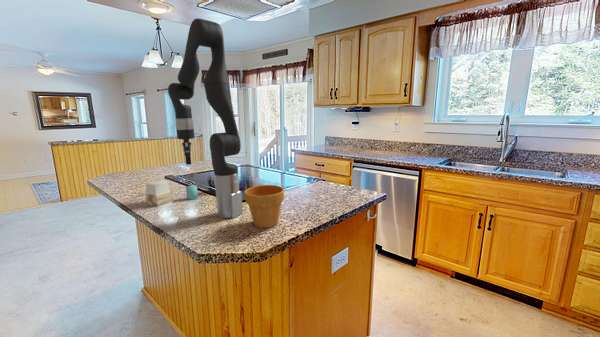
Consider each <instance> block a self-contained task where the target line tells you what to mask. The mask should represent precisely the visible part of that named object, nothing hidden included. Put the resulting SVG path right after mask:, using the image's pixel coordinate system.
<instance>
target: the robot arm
mask: <svg viewBox="0 0 600 337" xmlns="http://www.w3.org/2000/svg"><path fill="white" fill-rule="evenodd" d="M187 34H188V35H187V39H186V45H185V50H184V51H185V52H184V56H183V60H182V64H181V66H180V69H179V72H178V74H177V80H178V82H171V83H170V84H169V85H168V87H167V92H168V93H167V94H168V96H169V98H170V101H171V103H172V107H173V110H174V115H175V131H176V138H177V140H183V142H181V147H182V151H183V153H184V154H183V155H184V158H185V165H187V166H188V165H189V166H190V165H192V159H191V157H192V154H191V152H192V142H190V140H191V139H195V128H194V120H193V114H192V107H191V106H190V105H188V104H184V103H183V102H182V100H184V101H185V100H191V99H192V98H193V97H194V95H195V82H196V80H197V78H198V75H199V73H200V70H201V69H200V68H201V67H200V63H199V60H198V56H197V51H198V49H199V47H204V48H205V47H206V48H210V52H211V62H210V66H209V67H208V70H207V73H206V74H205V77H204V80H203V85H204V91H205V96H206V100H207V102H208V104H209V105H210V107H211V108H212V109H213V111H214V112H215V113H216V115H218V117H219V118H220V120H221V122H222V124H223V127H224V132H217V133H215V132H214V133H212V134H211V135H210V138H209V151H210V156H211V165H212V170H213V176H214V187H215V199H216V211H217V212H216V213H217V216H218V217H219V218H222V219H234V218H236V217H238V216H241V215H242V214H244V212H243V199H242V198H243V194H242V191H241V190H240V182H239V181H240V180H239V168H238V165H236V164H234V163H229V162H227V161H226V158H225V157H230V156H236V155H238V154H239V153H240V152H241V145H242V144H241V138H240V134H239V130H238V127H237V126H238V125H237V122H236V117H235V114H234V109H233V102H232V101H233V100H232V96H231V94H232V93H231V87H230V82H229V77H228V71H227V70H228V69H227V64H226V63H227V62H226V54H225V53H226V52H225V40H224V33H223V29H222V26H221V25H220V24H219V23H217V22H215V21H212V20H208V19H203V18H194V19H193V20H192V21H191V23H190V26H189V30H188V33H187Z"/></svg>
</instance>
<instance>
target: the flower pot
mask: <svg viewBox="0 0 600 337" xmlns="http://www.w3.org/2000/svg"><path fill="white" fill-rule="evenodd" d="M244 197H245V198H244V199H245V203H246V204H248V207H249V211H250V214H251V218H252V221H253V225H254V226H255V227H257V228H262V229H265V228H266V229H267V228H268V229H269V228H273V227H275V226H277V225H278V224H279V220H280V213H281V207H282V202H283V201H284V199H285V190H284V188H283V187H282V186H280V185H274V184H262V185H255V186H251V187H248V188H247V189H245V190H244Z"/></svg>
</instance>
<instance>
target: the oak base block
mask: <svg viewBox="0 0 600 337" xmlns="http://www.w3.org/2000/svg"><path fill="white" fill-rule="evenodd" d="M145 198H146V204H147V205H150V206H154V207H157V208H158V207H160V206H161V207H162V206H164V205H166V204H167V205H168V204H169V203H170V204H171V203H173V202H174V194H173V191H171V190H170V192H168V193H164V194H161V195H158V196H154V195H150V194H147V193H145Z"/></svg>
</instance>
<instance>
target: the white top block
mask: <svg viewBox="0 0 600 337" xmlns="http://www.w3.org/2000/svg"><path fill="white" fill-rule="evenodd" d="M144 184H145V192H146V194H150V195H154V196H158V195H161V194H164V193H168V192H170V191H171V189H170V182H169V181H168V180H162V179H159V180H153V181H150V182H145V183H144Z"/></svg>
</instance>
